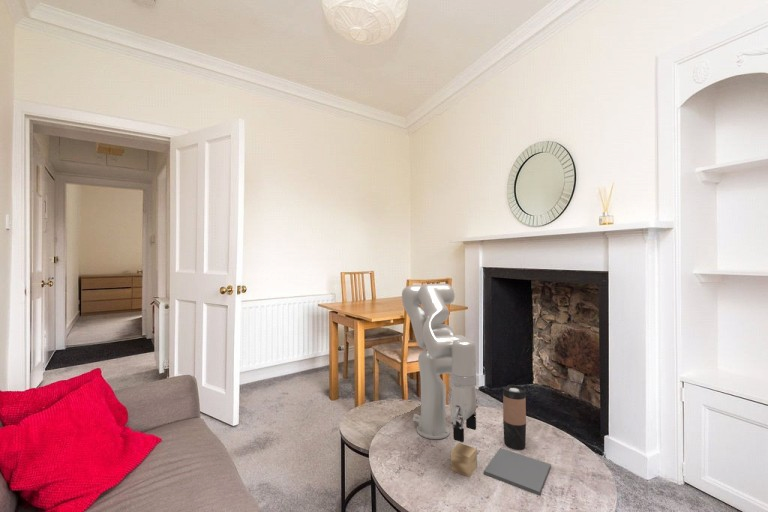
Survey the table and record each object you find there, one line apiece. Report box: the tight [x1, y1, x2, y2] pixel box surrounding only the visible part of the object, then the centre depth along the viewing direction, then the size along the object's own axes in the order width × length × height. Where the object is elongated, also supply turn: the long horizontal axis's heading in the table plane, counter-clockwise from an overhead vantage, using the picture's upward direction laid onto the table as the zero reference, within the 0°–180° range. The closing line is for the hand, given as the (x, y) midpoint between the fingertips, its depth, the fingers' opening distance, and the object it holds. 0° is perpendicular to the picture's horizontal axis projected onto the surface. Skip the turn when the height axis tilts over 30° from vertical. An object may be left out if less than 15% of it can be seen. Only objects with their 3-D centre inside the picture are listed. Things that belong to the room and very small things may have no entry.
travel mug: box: [502, 384, 527, 451], centre depth 120 cm, size 8×8×20 cm
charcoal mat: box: [483, 447, 552, 496], centre depth 105 cm, size 16×16×1 cm
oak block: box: [450, 442, 478, 478], centre depth 106 cm, size 6×6×6 cm
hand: (465, 434), depth 105 cm, fingers open, 9 cm apart
